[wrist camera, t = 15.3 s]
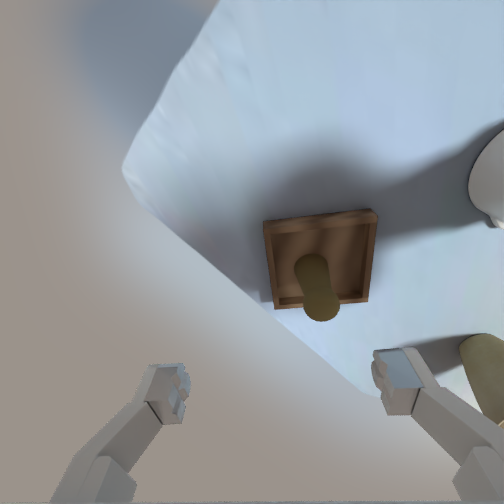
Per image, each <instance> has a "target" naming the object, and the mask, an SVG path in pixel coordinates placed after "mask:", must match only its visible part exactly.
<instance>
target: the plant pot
mask: <svg viewBox="0 0 504 504" xmlns="http://www.w3.org/2000/svg"><path fill="white" fill-rule="evenodd" d="M459 352H460V356H461V359H462V363H463V366H464V369H465V372H466V375H467V378H468V381H469V384H470V386H471V389H472V391H473V393H474V396H475V398H476V400H477V402H478V405H479V407H480V409H481V411H482V413H483V415H485V416H486V417H487V418H489V419H490V420H492V421H493V422H494V423H496V424H497V425H499V426H500V427H501V428H503V429H504V341H503V340H501V339H499V338H497V337H495V336H493V335H491V334H479V335H475V336H472V337H469V338H468V339H466V340H464V341H463V342H462V343H461V345H460V346H459Z"/></svg>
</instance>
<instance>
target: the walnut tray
mask: <svg viewBox="0 0 504 504" xmlns="http://www.w3.org/2000/svg"><path fill="white" fill-rule="evenodd" d="M377 219H378V216H377V215H376V214H375V213H374V212H373V211H372V210H371V209H362V210H354V211H345V212H337V213H329V214H321V215H313V216H304V217H296V218H288V219H280V220H272V221H263V232H264V239H265V246H266V253H267V260H268V267H269V274H270V281H271V288H272V295H273V302H274V309H275V310H277V309H289V308H301V307H303V300H304V294H303V292H302V289H301V287H300V285H299V282H298V280H297V277H296V275H295V273H294V265H295V263H296V261H297V260H298V259H299V258H300V257H302V256H304V255H307V254H319V255H321V256H323V257H324V258H325V259H326V260H327V263H328V267H329V274H330V280H331V287H332V291H333V292H334V293H335V294H336V295H337V297H338V299H339V301H340V304H349V303H361V302H368V296H369V287H370V279H371V270H372V262H373V253H374V245H375V236H376V228H377Z"/></svg>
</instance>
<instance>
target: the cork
mask: <svg viewBox="0 0 504 504" xmlns="http://www.w3.org/2000/svg"><path fill="white" fill-rule="evenodd" d="M294 273H295V275H296V277H297V280H298V282H299V285H300V287H301V289H302V292H303V294H304V300H303V307H304V310H305V312H306V314H307V315H308V316H309V317H310V318H311V319H313V320H315V321H320V322H322V321H328V320H331V319H332V318H334V317H335V316H336V315H337V313H338V311H339V309H340V301H339V299H338V297H337V295H336V294H335V293H334V292H333V291H332V287H331V280H330V274H329V267H328V263H327V260H326V259H325V258H324V257H323V256H321V255H319V254H307V255H304V256H302V257H300V258H299V259H298V260H297V261H296V263H295V265H294Z"/></svg>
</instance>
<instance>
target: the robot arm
mask: <svg viewBox="0 0 504 504" xmlns="http://www.w3.org/2000/svg"><path fill="white" fill-rule="evenodd" d="M468 191H469V196H470V199H471V201H472V203H473V204H474V205H475V206H476V207H477V208H478V209H479V210H481V211H483V212H484V213H486V214H488V215H489V216H490V218H491V220H492V222H493V224H494V225H495V226H496V227H498V228H500V229H504V130H503V131H501V132H500V133H499V134H498V135H497V136H496V137H495V138H494V139H493V140H492V141H491V142H490V143H489V144H488V145H487V146H486V147H485V149H484V150H483V151H482V153H481V154H480V155H479V157H478V159H477V160H476V162H475V164H474V166H473V169H472V171H471V174H470V178H469V184H468ZM373 357H374V361H373V362H372V364H371V370H372V376H373V379H374V382H375V385H376V387H377V388H379V389H380V390H381V391H382V393H381V400H382V402H383V405H384V407H385V410H386V412H387V415H411V417H412V418H413V419H414V420H415V421H416V422H417V423H418V424H419V425H420V426H421V427H422V428H423V429H424V430H425V431H426V432H427V433H428V434H429V435H430V436H431V437H432V438H433V439H434V440H435V441H436V442H437V443H438V444H439V445H440V446H441V447H442V448H443V449H444V450H445V451H446V452H447V453H448V454H449V455H450V456H451V457H452V458H453V459H454V460H455V461H456V462H457V463H458V464H459V465H460V466H461V467H460V469H459V470H458V472H457V473H456V475H455V476H454V478H453V481H452V482H453V484H454V486H455V488H456V490H457V492H458V494H459V496H460V498H461V500H462V501H305V502H304V501H295V502H293V501H292V502H291V501H289V502H287V501H285V502H132V500H133V497H134V493H135V490H136V487H137V484H136V481H135V480H134V479H133V478H132V477H131V476H129V474H128V473H129V471H130V470H131V469H132V467H133V466H134V464H135V463H136V462H137V461H138V459H139V458H140V456H141V455H142V454H143V452H144V451H145V450H146V448H147V447H148V445H149V444H150V443H151V441H152V440H153V439H154V437H155V436H156V435H157V433H158V432H159V431H160V429H161V428H162V425H167V424H181V423H182V420H183V416H184V412H185V408H186V406H185V404H184V401H185V400H186V398H187V397H188V396H189V392H190V377H189V375H188V373H186V372H184V370H185V366H184V364H183V363H176V364H154V365H149V366H148V367H147V368H146V370H145V372H144V374H143V376H142V379H141V381H140V383H139V386H138V388H137V390H136V392H135V395H134V397H133V400H132V402H131V403H127V404H126V405H125V406H124V407H123V408H122V409H121V410H120V411H119V412H118V413H117V414H116V415H115V416H114V417H113V418H112V419H111V420H110V421H109V422H108V423H107V424H106V425H105V426H104V427H103V428H102V429H101V430H100V431H99V432H98V433H97V434H96V435H95V436H94V437H93V438H91V440H90V441H88V442H87V444H85V446H83V447H82V448H81V449H80V450H79V451H78V452H77V453H76V454H75V455H74V457H73V458H72V461H71V462H70V464H69V466H68V468H67V470H66V472H65V474H64V476H63V477H62V479H61V481H60V483H59V485H58V487H57V489H56V491H55V493H54V495H53V496H52V498H51V500H50V502H49V503H0V504H504V429H503V428H501V427H500V426H499V425H497V424H496V423H494V422H493V421H492V420H490V419H489V418H487V417H486V416H485V415H483V414H482V413H480V412H479V411H478V410H476V409H475V408H473V407H472V406H471V405H469V404H468V403H466V402H465V401H464V400H462V399H461V398H459V397H458V396H457V395H455V394H454V393H452V392H451V391H450V390H448V389H447V388H445V387H440V386H439V384H438V382H437V381H436V379H435V378H434V376H433V374H432V373H431V371H430V370H429V368H428V366H427V365H426V363H425V362H424V360H423V358H422V357H421V355H420V354H419V352H418V351H417V349H415V348H414V347H410V348H393V349H381V350H374V351H373Z"/></svg>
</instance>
